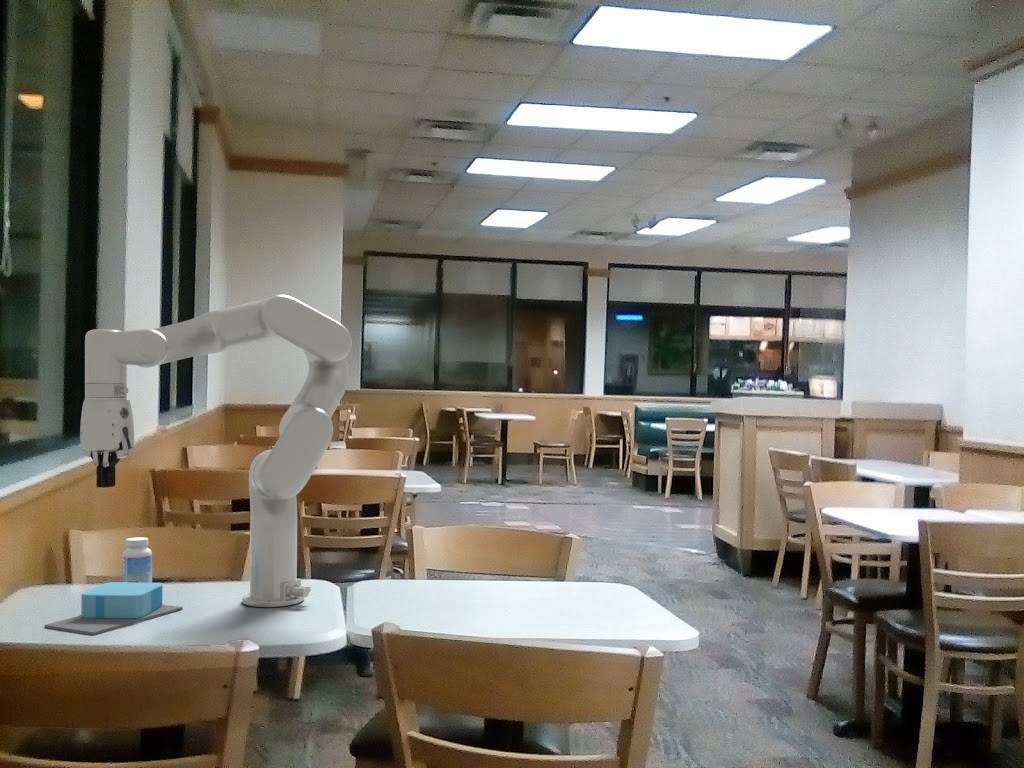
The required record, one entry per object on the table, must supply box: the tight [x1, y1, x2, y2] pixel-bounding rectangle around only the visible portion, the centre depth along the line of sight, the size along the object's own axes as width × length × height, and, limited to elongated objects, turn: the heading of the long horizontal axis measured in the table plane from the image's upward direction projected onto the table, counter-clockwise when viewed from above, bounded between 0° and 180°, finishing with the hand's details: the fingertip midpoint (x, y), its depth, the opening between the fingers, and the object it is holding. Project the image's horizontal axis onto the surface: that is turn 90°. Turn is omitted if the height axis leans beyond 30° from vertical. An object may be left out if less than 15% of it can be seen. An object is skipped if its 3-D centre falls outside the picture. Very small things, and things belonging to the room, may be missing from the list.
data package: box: [80, 581, 163, 619], centre depth 190 cm, size 12×4×12 cm
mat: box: [44, 604, 183, 636], centre depth 187 cm, size 12×22×1 cm, turn 155°
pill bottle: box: [121, 536, 153, 583], centre depth 213 cm, size 6×6×11 cm
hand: (105, 486), depth 189 cm, fingers closed
